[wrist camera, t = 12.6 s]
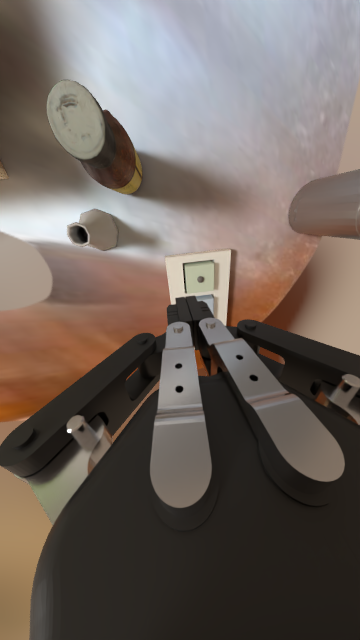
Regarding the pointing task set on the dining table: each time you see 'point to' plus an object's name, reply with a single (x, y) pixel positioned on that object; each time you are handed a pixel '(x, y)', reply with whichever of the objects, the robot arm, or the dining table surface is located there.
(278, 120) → the dining table surface
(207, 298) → the tile two
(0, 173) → the woven basket
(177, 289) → the board
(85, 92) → the sauce bottle
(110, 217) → the flask
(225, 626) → the robot arm
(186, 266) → the tile one
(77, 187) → the dining table surface
